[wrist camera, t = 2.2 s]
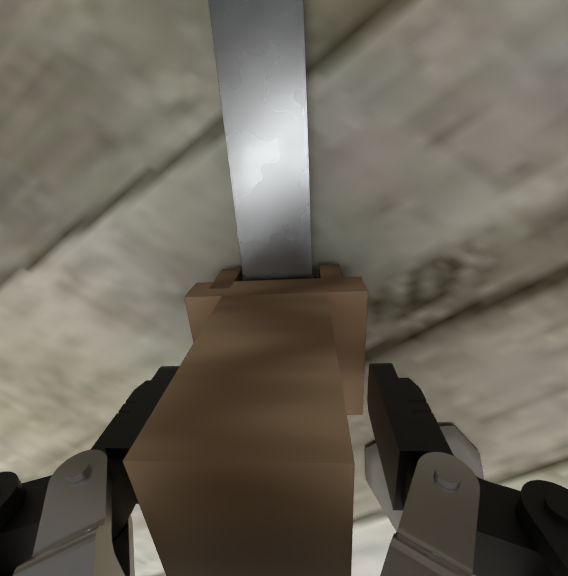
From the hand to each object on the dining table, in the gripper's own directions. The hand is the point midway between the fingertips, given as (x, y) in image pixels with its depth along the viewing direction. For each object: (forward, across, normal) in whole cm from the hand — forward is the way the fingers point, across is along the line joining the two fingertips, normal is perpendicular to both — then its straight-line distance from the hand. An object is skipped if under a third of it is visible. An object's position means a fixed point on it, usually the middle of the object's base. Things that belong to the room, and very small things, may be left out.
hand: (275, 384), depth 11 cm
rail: (+5, 0, -5) cm, 7 cm away
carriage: (+5, 0, 0) cm, 5 cm away
